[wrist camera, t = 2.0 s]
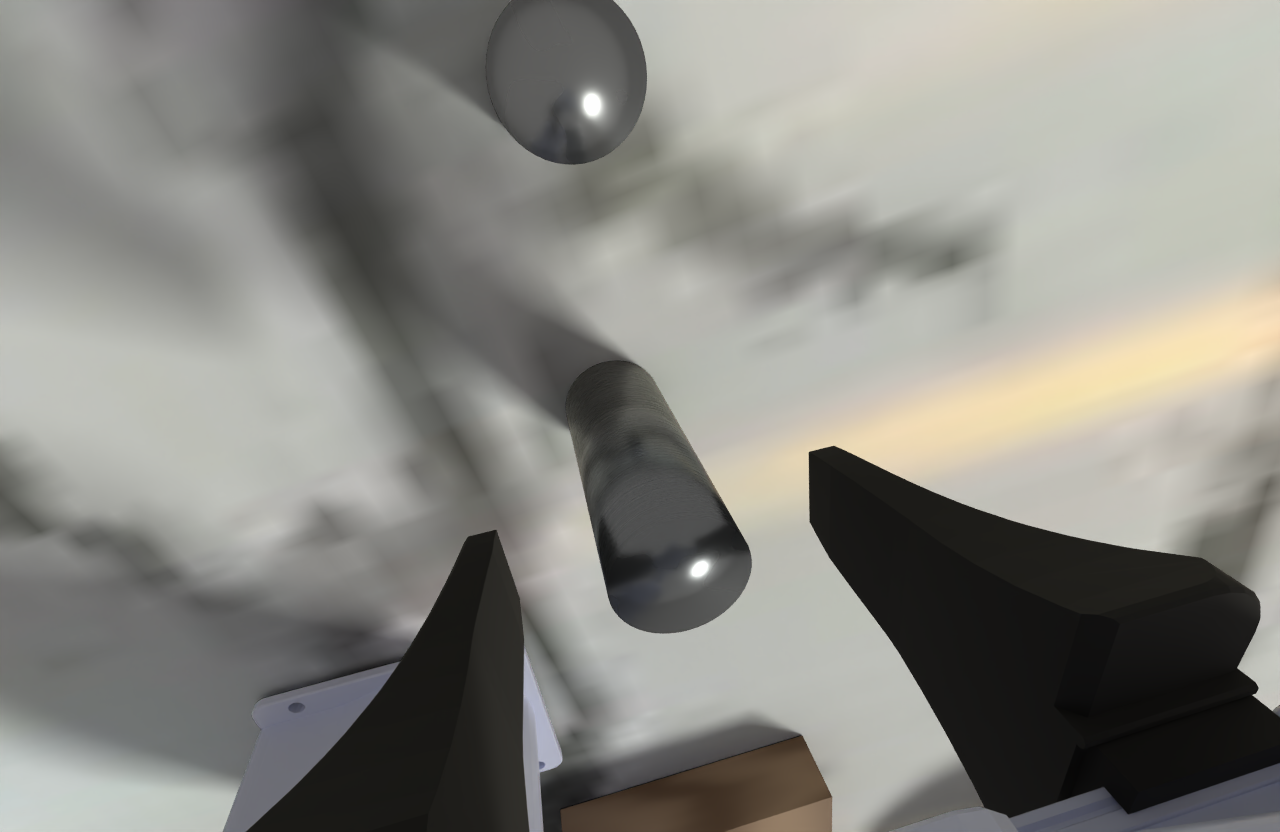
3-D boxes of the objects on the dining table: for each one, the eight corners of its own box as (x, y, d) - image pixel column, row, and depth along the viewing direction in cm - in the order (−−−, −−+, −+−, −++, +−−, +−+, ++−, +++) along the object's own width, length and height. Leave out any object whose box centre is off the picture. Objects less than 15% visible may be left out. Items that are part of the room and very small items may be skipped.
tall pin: (576, 455, 20) (620, 649, 13) (556, 373, 18) (594, 539, 11) (665, 434, 20) (755, 611, 13) (652, 351, 19) (746, 500, 12)
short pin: (505, 160, 15) (509, 177, 12) (472, 20, 14) (465, -7, 10) (621, 139, 16) (656, 150, 12) (599, 0, 14) (634, -33, 11)
